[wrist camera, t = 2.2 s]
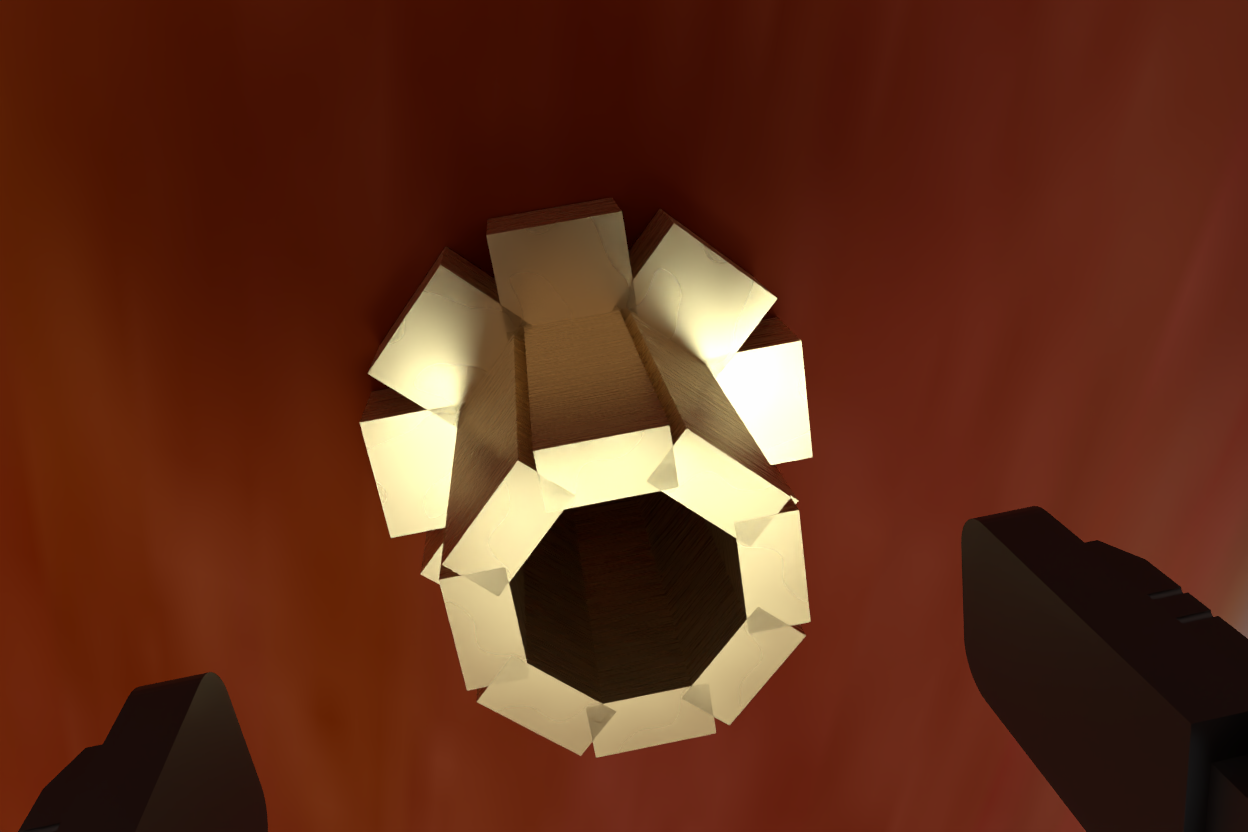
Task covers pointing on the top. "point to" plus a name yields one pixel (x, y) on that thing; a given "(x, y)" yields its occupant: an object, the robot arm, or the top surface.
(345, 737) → the top surface
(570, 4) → the top surface
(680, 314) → the gear
